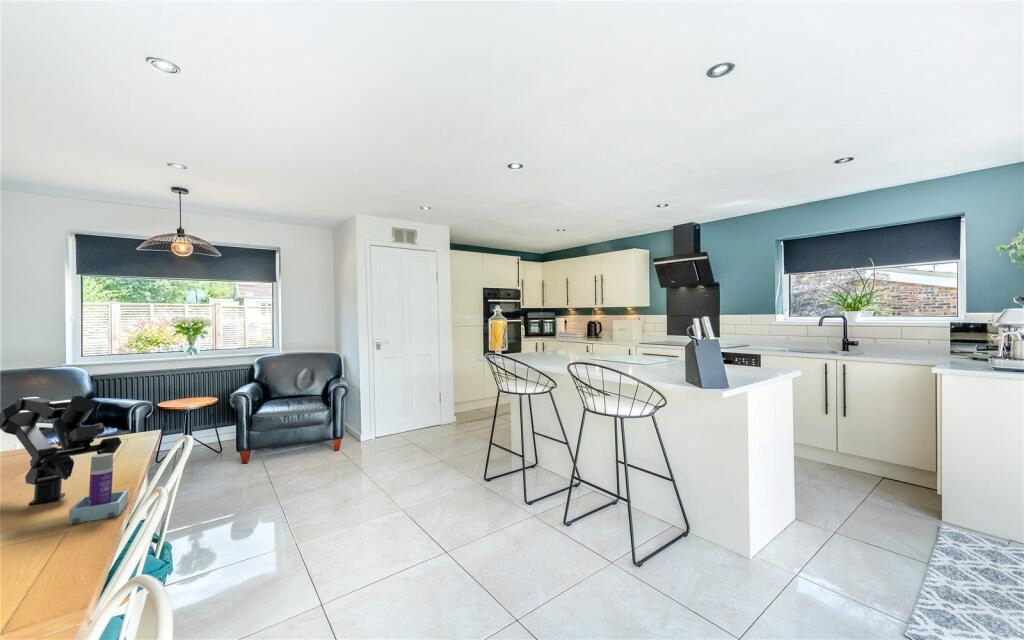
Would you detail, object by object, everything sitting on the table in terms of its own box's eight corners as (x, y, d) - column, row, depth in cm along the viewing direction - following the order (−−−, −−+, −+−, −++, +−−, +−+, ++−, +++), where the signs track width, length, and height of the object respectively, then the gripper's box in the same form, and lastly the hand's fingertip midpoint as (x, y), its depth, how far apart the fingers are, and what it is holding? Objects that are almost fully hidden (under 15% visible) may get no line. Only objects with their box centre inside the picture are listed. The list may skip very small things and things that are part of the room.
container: (101, 510, 118) (104, 456, 119) (83, 511, 117) (86, 457, 118) (115, 504, 122) (117, 452, 123) (97, 504, 122) (100, 453, 123)
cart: (83, 508, 123) (83, 495, 123) (128, 501, 129) (128, 489, 129) (66, 526, 111) (67, 512, 111) (117, 517, 116) (118, 503, 117)
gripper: (37, 421, 117) (55, 465, 113) (120, 411, 135) (138, 449, 130) (22, 446, 120) (38, 490, 115) (105, 433, 137) (122, 471, 132)
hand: (87, 474), depth 123 cm, fingers open, 9 cm apart
